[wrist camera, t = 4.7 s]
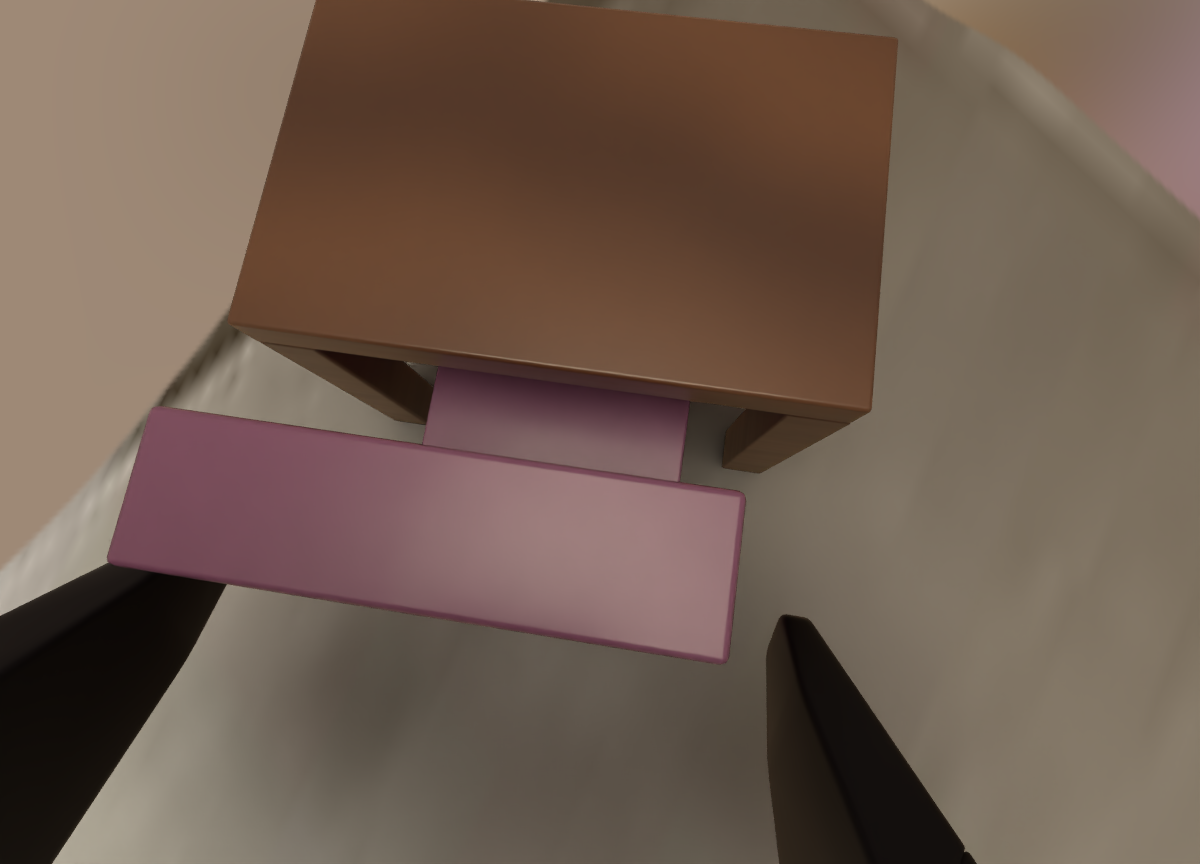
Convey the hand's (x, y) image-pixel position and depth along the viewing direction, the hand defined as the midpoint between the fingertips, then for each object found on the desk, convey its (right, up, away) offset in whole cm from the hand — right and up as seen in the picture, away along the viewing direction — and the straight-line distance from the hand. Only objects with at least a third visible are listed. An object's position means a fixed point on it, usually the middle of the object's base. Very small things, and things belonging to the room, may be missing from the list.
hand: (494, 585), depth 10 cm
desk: (+1, +6, +10) cm, 12 cm away
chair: (+1, +1, +9) cm, 9 cm away
